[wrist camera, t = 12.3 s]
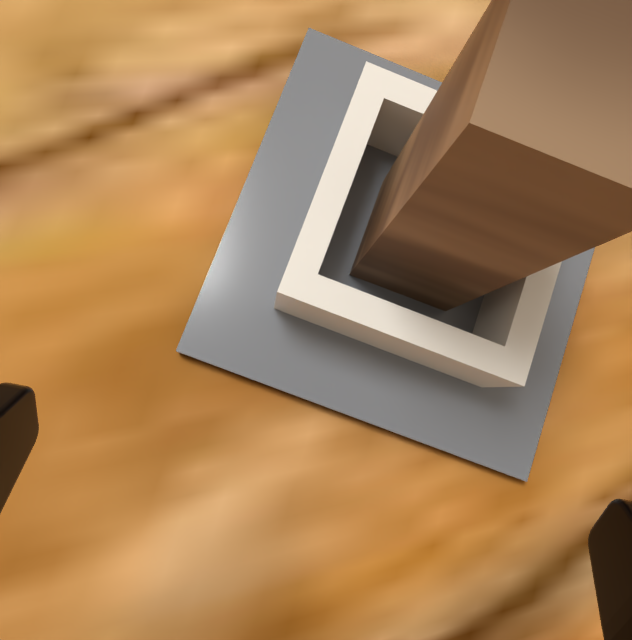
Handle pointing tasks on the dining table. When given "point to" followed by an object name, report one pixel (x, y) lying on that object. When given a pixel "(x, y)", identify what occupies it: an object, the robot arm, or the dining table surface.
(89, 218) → the dining table surface
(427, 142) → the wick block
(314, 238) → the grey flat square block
